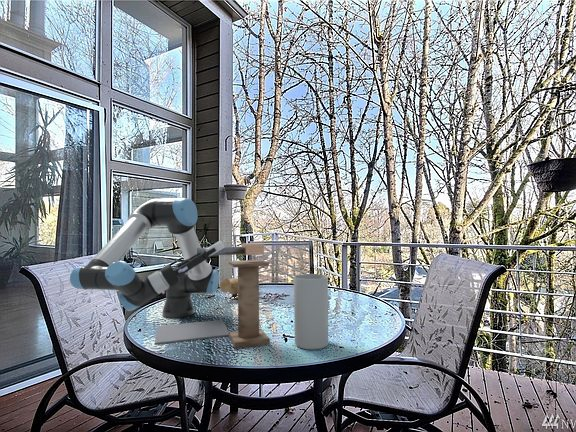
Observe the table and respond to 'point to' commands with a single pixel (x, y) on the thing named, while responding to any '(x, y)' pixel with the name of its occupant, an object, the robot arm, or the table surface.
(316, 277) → the cylinder vase
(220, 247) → the robot arm
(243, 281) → the bobbin stand
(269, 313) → the table surface
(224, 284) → the decorative spool
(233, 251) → the wooden mallet
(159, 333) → the rubber mat
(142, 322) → the table surface
